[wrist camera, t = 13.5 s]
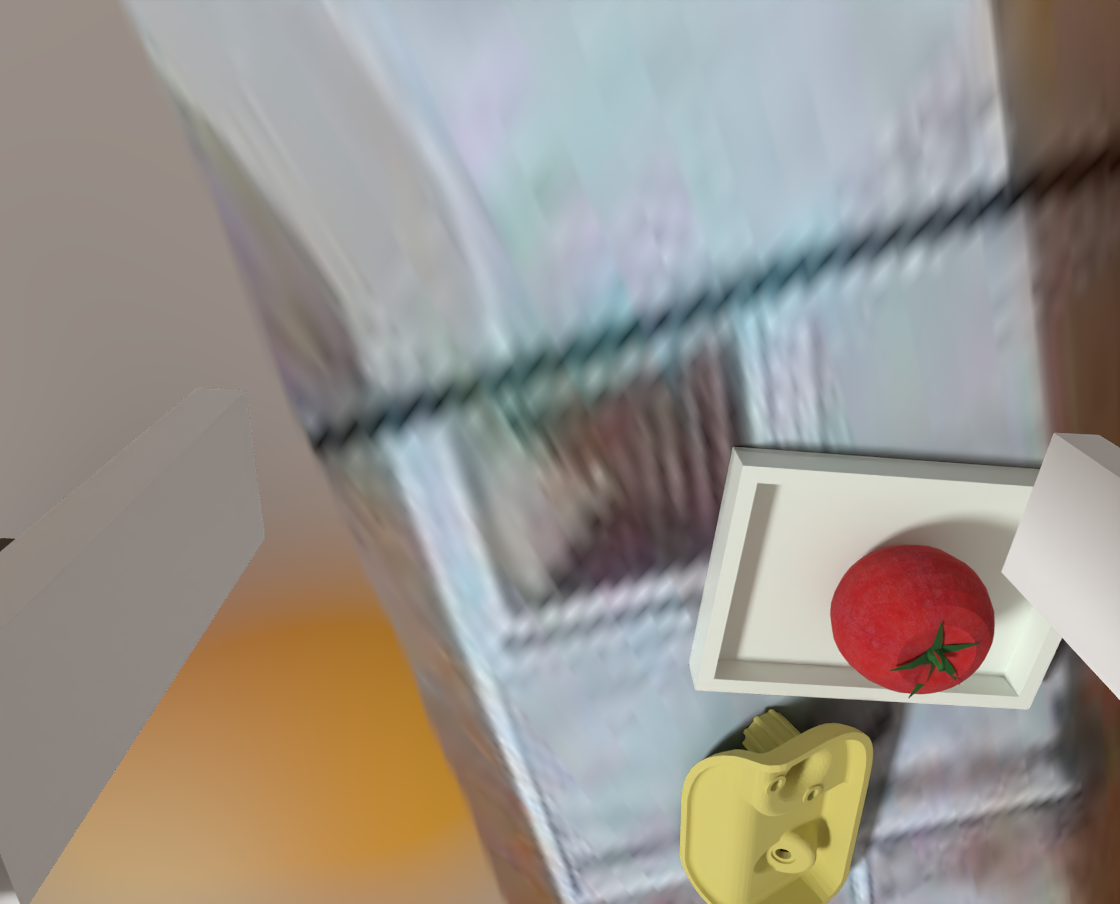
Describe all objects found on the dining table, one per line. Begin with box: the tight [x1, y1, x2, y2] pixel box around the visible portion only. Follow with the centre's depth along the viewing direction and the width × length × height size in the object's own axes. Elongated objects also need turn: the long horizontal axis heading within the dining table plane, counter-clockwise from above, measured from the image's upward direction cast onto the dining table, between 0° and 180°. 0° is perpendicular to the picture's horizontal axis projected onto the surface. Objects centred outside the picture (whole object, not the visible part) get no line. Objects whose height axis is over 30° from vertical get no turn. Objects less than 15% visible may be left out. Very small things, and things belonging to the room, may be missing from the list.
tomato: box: [830, 545, 995, 698], centre depth 43 cm, size 9×9×8 cm
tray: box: [689, 447, 1062, 709], centre depth 46 cm, size 16×22×2 cm
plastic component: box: [680, 709, 873, 904], centre depth 53 cm, size 20×7×10 cm
